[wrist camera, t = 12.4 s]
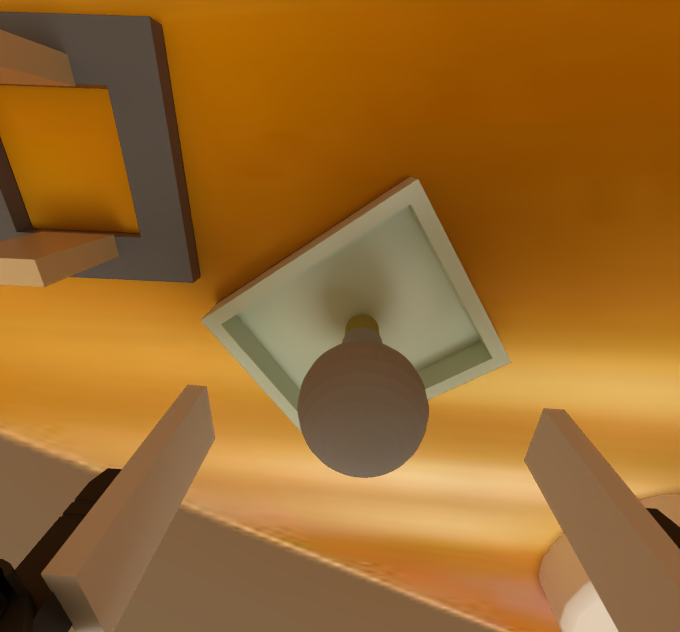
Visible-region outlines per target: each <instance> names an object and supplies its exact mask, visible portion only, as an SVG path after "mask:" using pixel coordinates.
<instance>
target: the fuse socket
mask: <svg viewBox="0 0 680 632" xmlns="http://www.w3.org/2000/svg"><path fill="white" fill-rule="evenodd" d="M0 85H19V86H47V87H74V88H101V89H108V91H109V96H110V100H111V105H112V109H113V114H114V118H115V123H116V127H117V132H118V136H119V140H120V145H121V149H122V154H123V158H124V163H125V167H126V172H127V176H128V181H129V185H130V190H131V194H132V199H133V203H134V208H135V212H136V217H137V221H138V226H139V230H140V234H138V233H115V232H93V231H71V230H49V229H32V226H31V223H30V220H29V217H28V215H27V212H26V209H25V206H24V204H23V201H22V198H21V195H20V192H19V190H18V187H17V184H16V181H15V178H14V176H13V173H12V170H11V167H10V165H9V162H8V159H7V156H6V153H5V151H4V148H3V145H2V142H1V140H0V285H16V286H37V287H46V286H48V285H50V284H53V283H55V282H58V281H60V280H63V279H65V278H67V277H82V278H103V279H124V280H145V281H166V282H187V283H193V282H195V281H196V280H197V279H199V278H200V272H199V265H198V259H197V252H196V246H195V239H194V233H193V226H192V220H191V213H190V207H189V200H188V194H187V187H186V181H185V174H184V168H183V161H182V155H181V148H180V142H179V135H178V129H177V122H176V116H175V109H174V103H173V96H172V90H171V83H170V76H169V70H168V63H167V57H166V50H165V44H164V37H163V31H162V25H161V24H159V23H158V22H156V21H155V20H153V19H152V18H151V17H148V16H118V15H87V14H57V13H26V12H0Z"/></svg>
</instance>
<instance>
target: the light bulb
mask: <svg viewBox="0 0 680 632" xmlns="http://www.w3.org/2000/svg"><path fill="white" fill-rule="evenodd" d="M297 412H298V418H299V423H300V428H301V431H302V434H303V436H304V438H305V440H306V442H307V445H308V446H309V448H310V449H311V451H312V452H313V453H314V454H315V455H316V456H317V457H318V458H319V459H320V460H321V461H322V462H323V463H324V464H325V465H327V466H328V467H330V468H331V469H333V470H335V471H337V472H339V473H342V474H344V475H348V476H352V477H360V478H368V477H376V476H381V475H384V474H387V473H389V472H391V471H394V470H395V469H397V468H399V467H400V466H402V465H403V464H404V463H405V462H406V461H407V460H408V459H409V458H410V457H411V456H412V455H413V454H414V453H415V452H416V450H417V449H418V447H419V445H420V443H421V441H422V439H423V437H424V434H425V431H426V426H427V421H428V416H429V405H428V400H427V395H426V391H425V386H424V384H423V381H422V379H421V377H420V376H419V374H418V372H417V371H416V370H415V368H414V367H413V365H412V364H411V363H410V361H409V360H408V359H407V358H406V357H405V356H404V355H402V354H401V353H400V352H398V351H397V350H395V349H393V348H391V347H389V346H387V345H385V344H383V343H382V339H381V337H380V336H379V326H378V324H377V322H376V320H375V319H374V318H372V317H371V316H368V315H364V314H360V315H356V316H354V317H352V318H351V319H350V320H349V321H348V323H347V325H346V329H345V336H344V338H343V340H342V344H339V345H337V346H335V347H333V348H331V349H329V350H328V351H326V352H325V353H323V354H322V355H321V356H320V357H319V358H318V359H317V360H316V361H315V362H314V363H313V365H312V366H311V368H310V369H309V371H308V372H307V374H306V375H305V377H304V379H303V382H302V385H301V389H300V394H299V399H298V405H297Z"/></svg>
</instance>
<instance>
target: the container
mask: <svg viewBox="0 0 680 632" xmlns="http://www.w3.org/2000/svg"><path fill="white" fill-rule="evenodd" d="M639 501H640V502H641V503H642V504H643V506H644V507H645V508H655V509H658V510H659V511H660V512H662V513H663V514H664V515H665V516H667V517H668V518H669V519H670V520H672V521H673V522H674V523H675V524H677V525H678V526H679V527H680V494H663V495H658V496H654V497H650V498H645V499H641V500H639ZM538 577H539V580H540V583H541V585H542V588H543V591H544V593H545V595H546V598H547V600H548V602H549V604H550V607H551V609H552V611H553V614H554V616H555V618H556V620H557V623H558V625H559V627H560V629H561V632H618V630H617V628H616V626H615V624H614V622H613V621H612V619H611V617H610V615H609V613H608V612H607V610H606V608H605V606H604V604H603V603H602V601H601V599H600V597H599V595H598V593H597V592H596V590H595V588H594V586H593V584H592V583H591V581H590V579H589V577H588V575H587V573H586V572H585V570H584V568H583V566H582V564H581V563H580V561H579V559H578V557H577V555H576V554H575V552H574V550H573V548H572V546H571V544H570V543H569V541H568V539H567V537H566V535H565V534H564V535H562V536H561V537H559V538H558V539H557V540H556V542H555V543H554V544H553V545H552V547H551V548H550V549H549V550H548V552H547V553H546V554H545V556H544V557H543V558H542V563H541V567H540V571H539V576H538Z"/></svg>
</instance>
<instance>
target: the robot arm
mask: <svg viewBox="0 0 680 632" xmlns="http://www.w3.org/2000/svg"><path fill="white" fill-rule="evenodd" d="M214 439H215V435H214V429H213V423H212V416H211V410H210V404H209V398H208V392H207V386H194V385H187V386H186V388H185V389H184V390H183V392H182V393H181V394H180V395H179V397H178V398H177V399H176V401H175V402H174V403H173V404H172V406H171V407H170V408H169V410H168V411H167V412H166V413H165V415H164V416H163V417H162V419H161V420H160V421H159V422H158V424H157V425H156V426H155V428H154V429H153V430H152V431H151V433H150V434H149V435H148V437H147V438H146V439H145V440H144V442H143V443H142V444H141V446H140V447H139V448H138V449H137V451H136V452H135V453H134V455H133V456H132V457H131V458H130V460H129V461H128V462H127V464H126V465H125V466H124V467H123V469H111V468H108V469H106V470H105V471H104V472H102V473H101V474H100V475H98V476H97V477H96V478H94V479H93V480H92V481H90V482H89V483H88V484H87V486H86V487H85V488H84V489H83V490H82V491H81V493H80V494H79V495H78V496H77V497H76V499H75V501H74V502H73V503H71V504H70V506H69V507H68V508H67V509H66V510H65V511H64V513H63V516H62V517H59V519H58V520H57V521H56V522H55V523H54V524H53V526H52V527H51V528H50V529H49V530H48V532H47V533H46V534H45V535H44V536H43V537H42V539H41V540H40V541H39V542H38V543H37V545H36V546H35V547H34V548H33V549H32V550H31V552H30V553H29V554H28V555H27V556H26V558H25V559H24V560H23V561H22V562H21V563H20V564H19V566H18V567H17V568H16V569H15V570H14V569H13V567H12V565H11V564H10V563H8V562H7V561H5V560H3V559H0V632H68V631H69V629H70V628H71V626H73V628H74V630H75V631H76V632H113V631H114V629H115V627H116V625H117V623H118V621H119V619H120V618H121V616H122V614H123V612H124V610H125V608H126V606H127V604H128V602H129V601H130V599H131V597H132V595H133V593H134V591H135V589H136V587H137V585H138V583H139V582H140V580H141V578H142V576H143V574H144V572H145V570H146V568H147V566H148V565H149V563H150V561H151V559H152V557H153V555H154V553H155V551H156V549H157V547H158V546H159V544H160V542H161V540H162V538H163V536H164V534H165V532H166V530H167V529H168V527H169V525H170V523H171V521H172V519H173V517H174V515H175V513H176V511H177V510H178V508H179V506H180V504H181V502H182V500H183V498H184V496H185V494H186V493H187V491H188V489H189V487H190V485H191V483H192V481H193V479H194V477H195V475H196V474H197V472H198V470H199V468H200V466H201V464H202V462H203V460H204V458H205V457H206V455H207V453H208V451H209V449H210V447H211V445H212V443H213V441H214ZM524 461H525V463H526V465H527V466H528V468H529V470H530V472H531V474H532V476H533V477H534V479H535V481H536V483H537V485H538V486H539V488H540V490H541V492H542V494H543V495H544V497H545V499H546V501H547V503H548V505H549V506H550V508H551V510H552V512H553V514H554V515H555V517H556V519H557V521H558V523H559V525H560V526H561V528H562V530H563V532H564V534H565V535H566V537H567V539H568V541H569V543H570V544H571V546H572V548H573V550H574V552H575V554H576V555H577V557H578V559H579V561H580V563H581V564H582V566H583V568H584V570H585V572H586V573H587V575H588V577H589V579H590V581H591V583H592V584H593V586H594V588H595V590H596V592H597V593H598V595H599V597H600V599H601V601H602V603H603V604H604V606H605V608H606V610H607V612H608V613H609V615H610V617H611V619H612V621H613V622H614V624H615V626H616V628H617V630H618V632H680V527H679V526H678V525H677V524H675V523H674V522H673V521H672V520H670V519H669V518H668V517H667V516H665V515H664V514H663V513H662V512H660V511H659V510H658V509H655V508H645V507H644V506H643V504H642V503H641V502H640V501H639V500H638V498H637V497H636V496H635V495H634V493H633V492H632V491H631V490H630V489H629V487H628V486H627V485H626V484H625V483H624V481H623V480H622V479H621V478H620V477H619V475H618V474H617V473H616V472H615V471H614V469H613V468H612V467H611V466H610V464H609V463H608V462H607V461H606V460H605V458H604V457H603V456H602V455H601V454H600V452H599V451H598V450H597V449H596V448H595V446H594V445H593V444H592V443H591V441H590V440H589V439H588V438H587V437H586V435H585V434H584V433H583V432H582V431H581V429H580V428H579V427H578V426H577V425H576V423H575V422H574V421H573V420H572V419H571V417H570V416H569V415H568V414H567V412H566V411H565V410H560V409H545V408H544V409H543V412H542V415H541V417H540V420H539V422H538V425H537V428H536V430H535V433H534V436H533V438H532V441H531V443H530V446H529V449H528V451H527V454H526V457H525V459H524Z"/></svg>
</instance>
